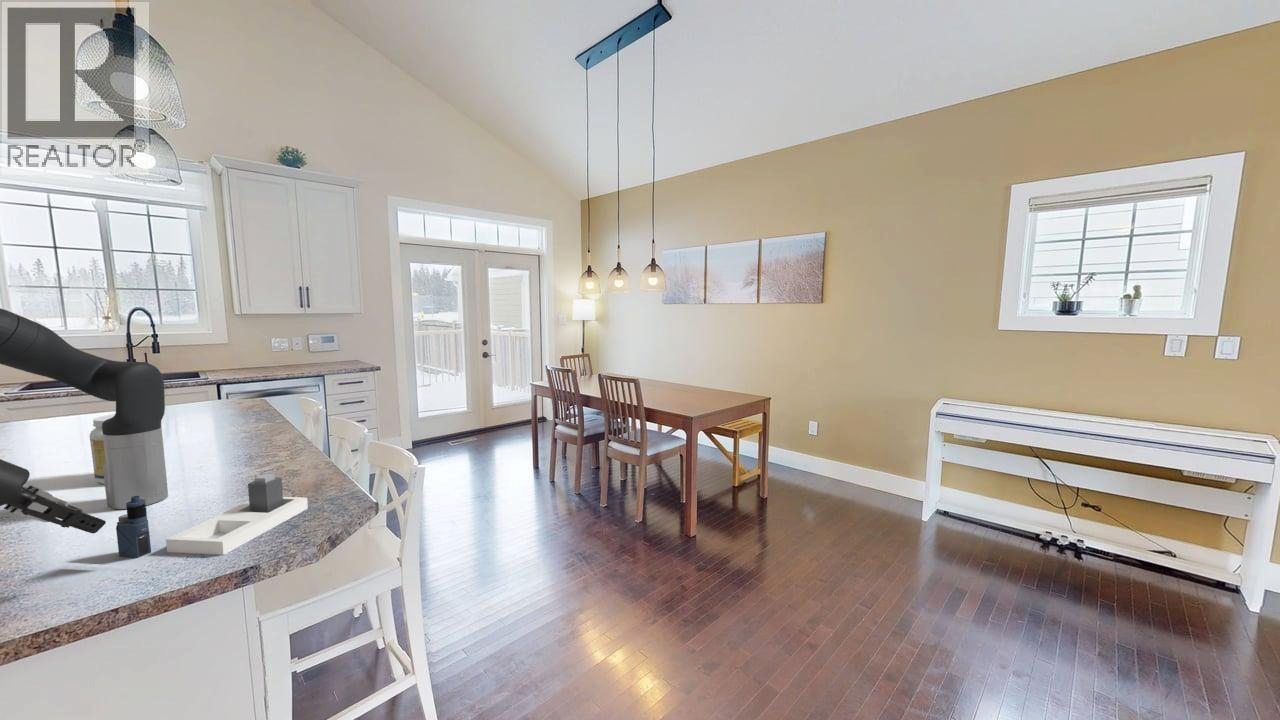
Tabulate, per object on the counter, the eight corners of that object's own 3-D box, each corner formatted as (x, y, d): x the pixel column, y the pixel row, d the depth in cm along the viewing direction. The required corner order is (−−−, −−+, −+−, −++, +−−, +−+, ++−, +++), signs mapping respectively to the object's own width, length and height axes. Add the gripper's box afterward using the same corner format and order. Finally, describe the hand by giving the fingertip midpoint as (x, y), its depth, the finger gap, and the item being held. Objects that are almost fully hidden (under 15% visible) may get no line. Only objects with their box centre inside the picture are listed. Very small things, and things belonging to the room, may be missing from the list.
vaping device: (138, 564, 83) (131, 500, 81) (116, 560, 84) (109, 497, 82) (155, 556, 85) (149, 494, 84) (134, 553, 86) (127, 491, 85)
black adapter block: (250, 519, 98) (247, 479, 97) (266, 511, 102) (263, 472, 101) (268, 520, 98) (265, 479, 97) (284, 512, 102) (281, 473, 101)
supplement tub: (154, 466, 132) (148, 409, 130) (169, 475, 126) (163, 414, 124) (89, 479, 121) (81, 417, 120) (101, 489, 115) (94, 423, 114)
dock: (224, 559, 84) (222, 541, 84) (167, 557, 85) (165, 539, 85) (308, 512, 104) (307, 497, 104) (261, 510, 105) (260, 495, 105)
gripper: (-82, 493, 67) (48, 533, 79) (-50, 514, 62) (85, 554, 74) (-25, 448, 72) (91, 493, 83) (10, 464, 66) (129, 509, 78)
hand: (88, 521), depth 79 cm, fingers open, 8 cm apart
